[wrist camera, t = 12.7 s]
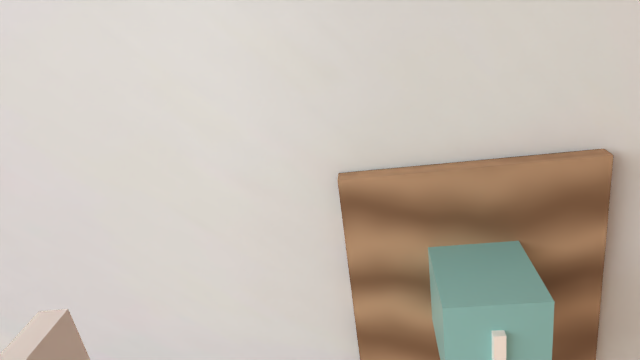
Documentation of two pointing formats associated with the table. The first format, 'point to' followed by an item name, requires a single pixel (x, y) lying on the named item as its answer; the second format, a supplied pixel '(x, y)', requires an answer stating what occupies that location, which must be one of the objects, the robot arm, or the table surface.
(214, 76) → the table surface
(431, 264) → the teal rectangular block
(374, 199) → the wooden peg board
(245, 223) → the table surface
